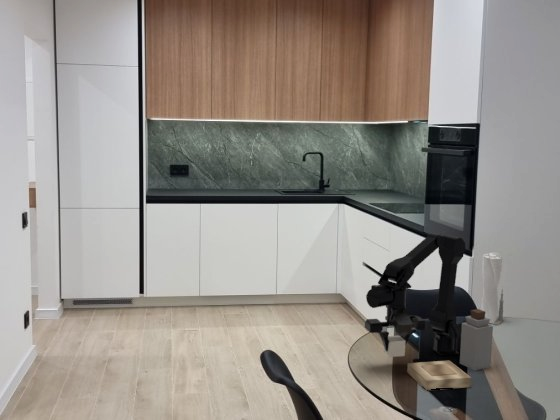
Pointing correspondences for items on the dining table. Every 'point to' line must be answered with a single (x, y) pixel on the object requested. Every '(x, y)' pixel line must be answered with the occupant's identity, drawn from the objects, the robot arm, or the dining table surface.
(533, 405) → the dining table surface
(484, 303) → the skyscraper
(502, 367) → the dining table surface
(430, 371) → the oak base
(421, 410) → the dining table surface
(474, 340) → the perfume bottle
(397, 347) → the cream cube
